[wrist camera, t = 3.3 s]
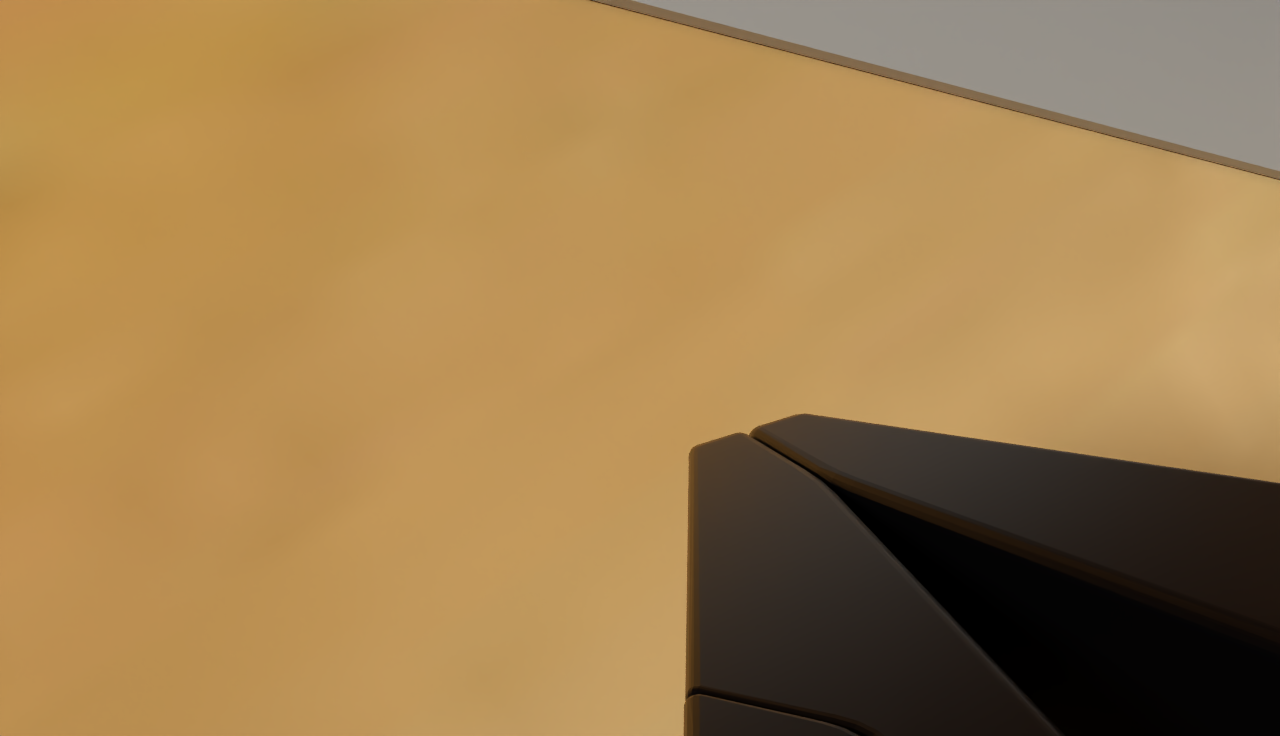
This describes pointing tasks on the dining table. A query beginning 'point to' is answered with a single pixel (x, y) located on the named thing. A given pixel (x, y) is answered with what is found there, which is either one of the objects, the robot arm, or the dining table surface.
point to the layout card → (1050, 59)
